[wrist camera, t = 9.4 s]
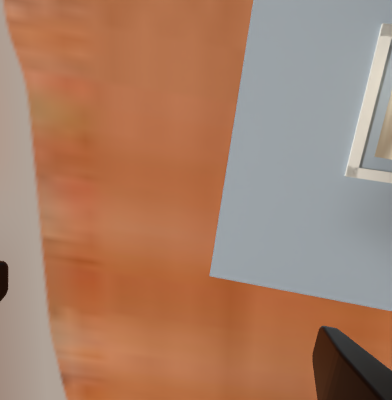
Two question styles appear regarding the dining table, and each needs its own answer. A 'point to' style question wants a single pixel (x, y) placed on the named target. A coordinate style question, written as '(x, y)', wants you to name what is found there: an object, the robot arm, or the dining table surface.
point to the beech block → (386, 135)
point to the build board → (311, 154)
